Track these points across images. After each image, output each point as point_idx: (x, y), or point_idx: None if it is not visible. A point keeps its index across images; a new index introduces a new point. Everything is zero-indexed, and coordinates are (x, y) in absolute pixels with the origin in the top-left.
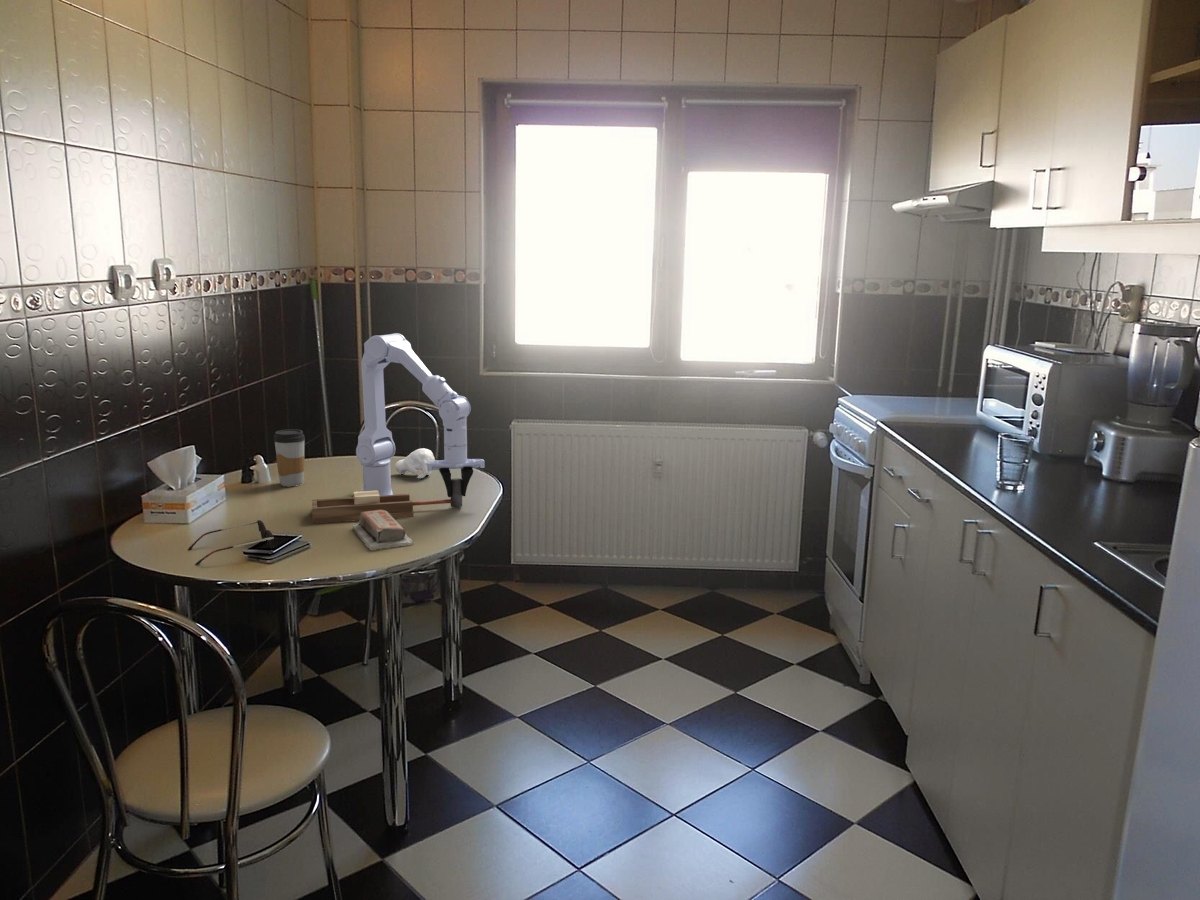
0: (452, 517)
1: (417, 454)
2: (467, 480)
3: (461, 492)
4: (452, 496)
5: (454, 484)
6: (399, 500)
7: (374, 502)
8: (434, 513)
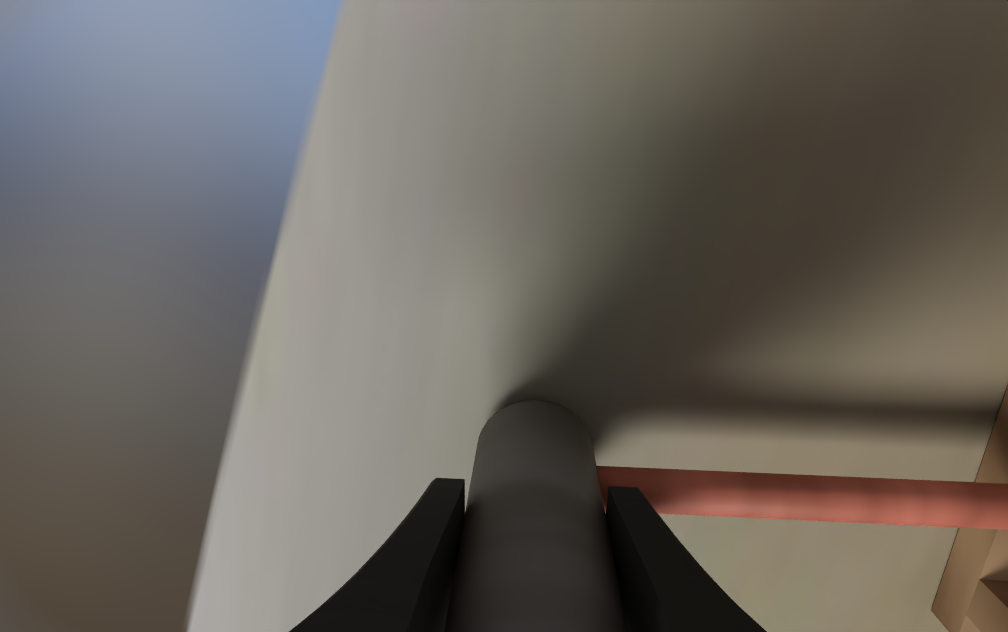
0: (654, 121)
1: None
2: (336, 624)
3: (473, 518)
4: (593, 492)
5: (583, 607)
6: None
7: None
8: (793, 324)
